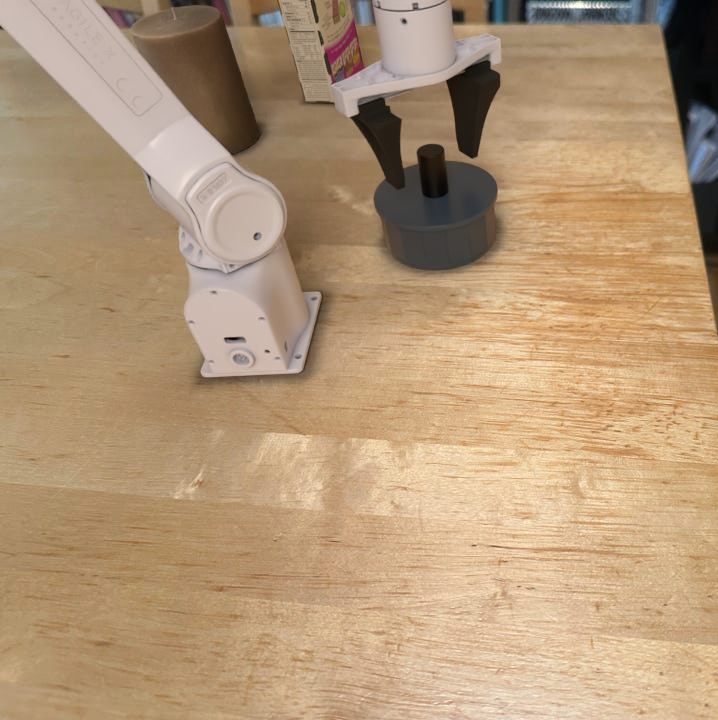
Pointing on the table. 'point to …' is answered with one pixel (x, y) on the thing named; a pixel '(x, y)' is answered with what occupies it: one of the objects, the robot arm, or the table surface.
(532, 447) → the table surface
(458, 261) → the pot
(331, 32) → the candy bar box
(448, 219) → the lid
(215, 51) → the pillar candle
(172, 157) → the robot arm
